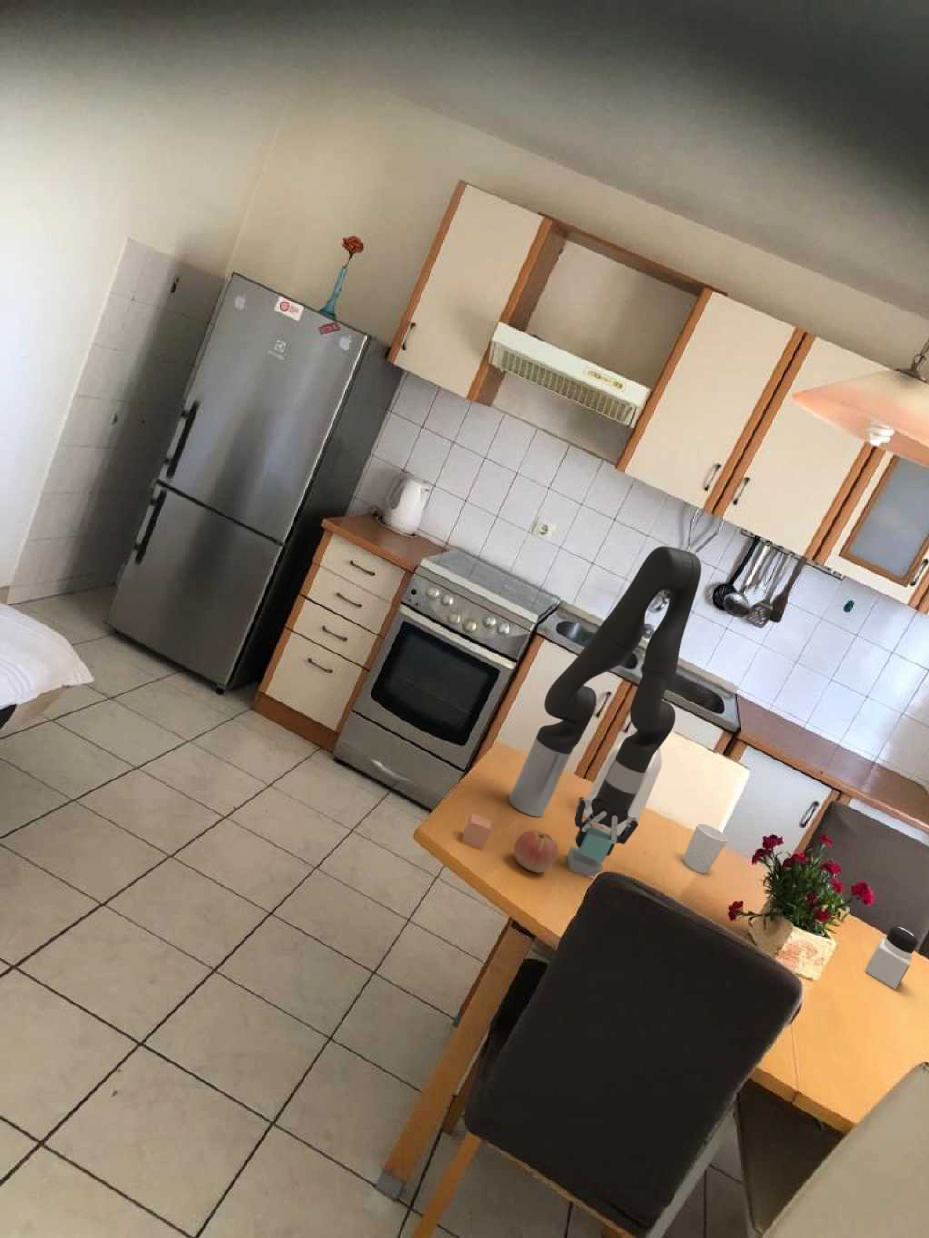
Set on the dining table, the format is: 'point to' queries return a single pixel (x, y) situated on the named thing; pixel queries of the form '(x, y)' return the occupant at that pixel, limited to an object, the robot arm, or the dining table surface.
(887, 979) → the medicine bottle
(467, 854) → the dining table surface
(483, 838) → the brick terracotta
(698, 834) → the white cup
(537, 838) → the apple
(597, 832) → the brick teal
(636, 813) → the milk
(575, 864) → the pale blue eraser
